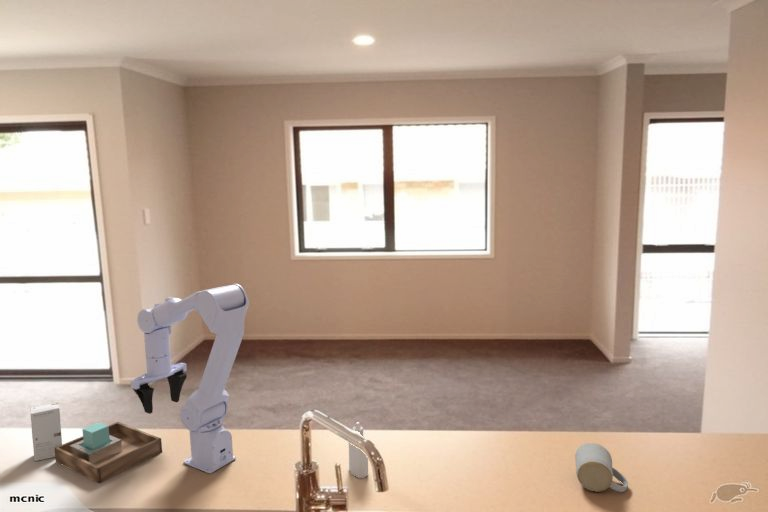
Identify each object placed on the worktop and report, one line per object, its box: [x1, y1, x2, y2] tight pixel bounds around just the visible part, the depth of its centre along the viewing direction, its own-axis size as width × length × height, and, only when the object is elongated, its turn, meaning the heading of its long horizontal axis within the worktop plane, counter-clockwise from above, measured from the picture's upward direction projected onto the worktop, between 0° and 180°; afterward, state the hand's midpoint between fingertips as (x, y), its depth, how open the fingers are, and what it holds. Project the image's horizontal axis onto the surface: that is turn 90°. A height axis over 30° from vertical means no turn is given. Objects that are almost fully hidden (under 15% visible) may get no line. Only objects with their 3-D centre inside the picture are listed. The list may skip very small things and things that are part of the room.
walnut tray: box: [54, 421, 163, 484], centre depth 130 cm, size 18×16×4 cm
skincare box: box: [30, 402, 63, 462], centre depth 130 cm, size 6×4×12 cm
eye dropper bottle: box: [348, 421, 369, 479], centre depth 121 cm, size 4×6×12 cm
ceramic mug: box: [574, 442, 629, 493], centre depth 115 cm, size 11×8×8 cm
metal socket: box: [70, 435, 122, 464], centre depth 129 cm, size 8×8×3 cm
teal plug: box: [82, 422, 110, 450], centre depth 128 cm, size 4×4×7 cm
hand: (162, 406), depth 135 cm, fingers open, 7 cm apart
